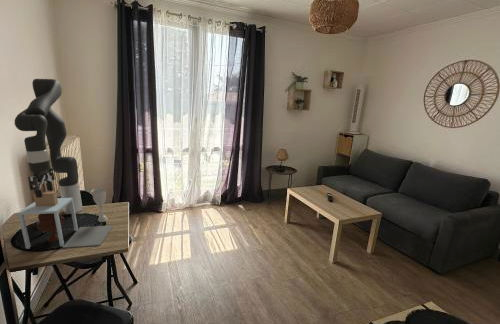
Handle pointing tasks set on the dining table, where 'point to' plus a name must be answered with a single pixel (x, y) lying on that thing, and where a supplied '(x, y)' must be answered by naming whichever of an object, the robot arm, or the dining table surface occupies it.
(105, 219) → the chalice
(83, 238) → the mat
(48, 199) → the cover
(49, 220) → the ice cream bowl
